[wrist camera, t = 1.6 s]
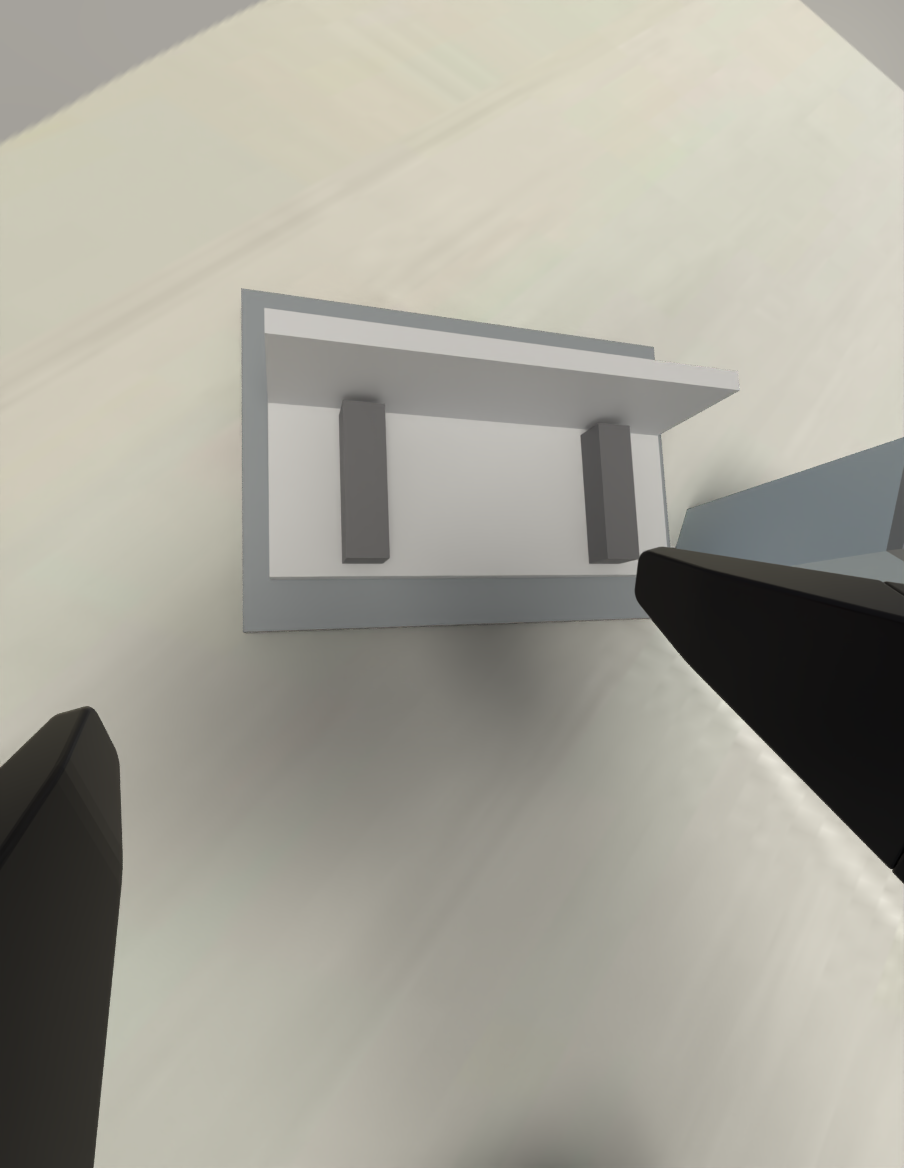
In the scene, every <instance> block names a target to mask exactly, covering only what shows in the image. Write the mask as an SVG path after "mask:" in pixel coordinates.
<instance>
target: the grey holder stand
mask: <svg viewBox="0 0 904 1168" xmlns="http://www.w3.org/2000/svg"><path fill="white" fill-rule="evenodd" d="M241 300H242V525H243V632H245V633H246V632H274V631H303V630H332V629H361V628H389V627H418V626H447V625H476V624H505V623H533V622H562V621H591V620H620V619H648V618H650V617H649V616H648V615H647V613H646V612H645V611H644V610H643V608H642V607H641V606H640V605H639V603H638V602H637V600H636V597H635V592H634V590H635V581H636V573H637V565H638V559H639V556H640V555H641V553H642V552H644V551H646V550H649V549H653V548H656V547H662V546H663V547H670V540H669V528H668V515H667V503H666V491H665V479H664V467H663V454H662V442H661V434H662V433H664V432H666V431H667V430H669V429H671V428H673V427H675V426H676V425H678V424H680V423H682V422H684V421H685V420H687V419H689V418H691V417H693V416H694V415H696V414H698V413H700V412H702V411H703V410H705V409H707V408H709V407H711V406H712V405H714V404H716V403H718V402H720V401H721V400H723V399H725V398H727V397H729V396H730V395H732V394H734V393H736V392H738V391H739V390H740V386H739V376H738V371H733V370H726V369H718V368H711V367H703V366H696V365H688V364H681V363H673V362H666V361H658V360H655V357H654V347H650V346H643V345H636V344H629V343H622V342H615V341H608V340H601V339H594V338H587V337H580V336H573V335H566V334H559V333H552V332H545V331H538V330H530V329H523V328H516V327H509V326H502V325H495V324H488V323H481V322H474V321H467V320H460V319H453V318H446V317H439V316H432V315H425V314H418V313H411V312H404V311H397V310H390V309H383V308H376V307H369V306H362V305H355V304H348V303H341V302H334V301H327V300H320V299H312V298H305V297H298V296H291V295H284V294H277V293H270V292H263V291H256V290H249V289H242V288H241Z"/></svg>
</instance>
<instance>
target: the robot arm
mask: <svg viewBox="0 0 904 1168" xmlns="http://www.w3.org/2000/svg"><path fill="white" fill-rule="evenodd" d="M634 592H635V597H636V600H637V602H638V603H639V605H640V606H641V607H642V608H643V610H644V611H645V612H646V613H647V615H648V616H649V617H650V618H651V620H652V621H653V622H654V623H655V624H656V626H657V627H658V628H659V629H660V631H661V632H662V633H663V634H664V636H665V637H666V638H667V639H668V641H669V642H670V643H671V644H672V645H673V647H674V648H675V649H676V650H677V652H678V653H679V654H680V655H681V656H682V657H683V659H684V660H685V661H686V662H687V663H688V664H689V665H690V666H691V667H692V668H693V670H694V671H695V672H696V673H697V674H698V675H699V676H700V677H701V678H702V679H703V680H704V681H705V682H706V683H707V684H708V685H709V686H710V687H711V688H712V689H713V690H714V691H715V692H716V693H717V694H718V695H719V696H720V697H721V698H722V699H723V700H724V701H725V702H726V703H727V704H728V705H729V706H730V707H731V708H732V709H733V710H734V711H735V712H736V713H737V714H738V715H739V716H740V717H741V718H742V719H743V720H744V721H745V722H746V723H747V724H748V725H749V726H750V727H751V729H752V730H753V731H754V732H755V733H756V734H757V735H758V736H759V737H760V738H761V739H762V740H763V741H764V742H765V743H766V744H767V745H768V746H769V747H770V748H771V749H772V750H773V751H774V752H775V753H776V754H777V755H778V756H779V757H780V758H781V759H782V760H783V761H784V762H785V763H786V764H787V765H788V766H789V767H790V768H791V769H792V770H793V771H794V772H795V773H796V774H797V775H798V776H799V777H800V778H801V779H802V780H803V781H804V782H805V783H806V784H807V785H808V786H809V787H810V788H811V789H812V790H813V791H814V792H815V793H816V794H817V796H818V797H819V798H820V799H821V800H822V801H823V802H824V803H825V804H826V805H827V806H828V807H829V808H830V809H831V810H832V811H833V812H834V813H835V814H836V815H837V816H838V817H839V818H840V819H841V820H842V821H843V822H844V823H845V824H846V825H847V826H848V827H849V828H850V829H851V830H852V831H853V832H854V833H855V834H856V835H857V836H858V837H859V838H860V839H861V840H862V841H863V842H864V843H865V844H866V845H867V846H868V847H869V848H870V849H871V850H872V851H873V852H874V853H875V854H876V855H877V856H878V857H879V858H880V859H881V860H882V862H883V863H884V864H885V865H886V866H887V867H888V868H890V869H893V870H892V872H893V873H894V874H895V875H896V876H897V877H898V878H899V879H900V880H901V881H902V883H903V884H904V584H901V583H895V582H889V581H885V582H882V581H880V580H875V579H869V578H862V577H856V576H850V575H843V574H837V573H830V572H824V571H818V570H811V569H805V568H798V567H792V566H786V565H779V564H773V563H766V562H760V561H754V560H747V559H741V558H734V557H728V556H722V555H715V554H709V553H702V552H696V551H690V550H683V549H677V548H670V547H663V546H662V547H656V548H653V549H649V550H646V551H644V552H642V553H641V555H640V556H639V559H638V565H637V573H636V581H635V590H634ZM122 870H123V850H122V821H121V792H120V766H119V759H118V755H117V752H116V749H115V747H114V745H113V743H112V741H111V739H110V737H109V735H108V733H107V731H106V729H105V727H104V725H103V723H102V721H101V719H100V717H99V716H98V714H97V712H96V711H95V710H94V709H93V708H91V707H89V706H85V707H81V708H78V709H74V710H70V711H67V712H63V713H60V714H57V715H55V716H54V717H52V718H51V719H50V720H49V721H48V722H47V723H46V724H45V725H44V726H43V727H42V728H41V729H40V730H39V731H38V732H37V733H36V734H35V735H34V736H32V737H31V738H30V739H29V740H28V741H27V742H26V743H25V744H24V745H23V746H22V747H21V748H20V749H19V750H18V751H17V752H16V753H15V754H14V755H13V756H12V757H11V758H10V759H9V760H8V761H7V762H6V763H5V764H3V765H2V766H1V767H0V1168H94V1158H95V1147H96V1137H97V1127H98V1117H99V1107H100V1097H101V1087H102V1077H103V1067H104V1057H105V1047H106V1037H107V1027H108V1017H109V1006H110V996H111V986H112V976H113V966H114V956H115V946H116V936H117V926H118V916H119V906H120V896H121V885H122Z"/></svg>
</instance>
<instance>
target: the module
mask: <svg viewBox="0 0 904 1168" xmlns="http://www.w3.org/2000/svg"><path fill="white" fill-rule="evenodd" d="M676 548H677V549H683V550H690V551H696V552H702V553H709V554H715V555H722V556H728V557H734V558H741V559H747V560H754V561H760V562H766V563H773V564H779V565H786V566H792V567H798V568H805V569H811V570H818V571H824V572H830V573H837V574H843V575H850V576H856V577H862V578H869V579H875V580H880V581H882V582H885V581H889V582H895V583H901V584H904V437H903V438H900V439H897V440H894V441H891V442H888V443H885V444H882V445H879V446H876V447H873V448H870V449H867V450H864V451H861V452H858V453H855V454H852V455H849V456H846V457H843V458H840V459H837V460H834V461H831V462H828V463H825V464H822V465H819V466H816V467H813V468H810V469H807V470H804V471H801V472H798V473H795V474H792V475H789V476H786V477H783V478H780V479H777V480H774V481H771V482H768V483H765V484H762V485H759V486H756V487H753V488H750V489H747V490H744V491H741V492H738V493H735V494H732V495H729V496H726V497H723V498H720V499H717V500H714V501H711V502H708V503H705V504H702V505H699V506H696V507H693V508H690V509H687V512H686V516H685V519H684V522H683V526H682V529H681V532H680V536H679V539H678V542H677V546H676Z"/></svg>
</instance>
